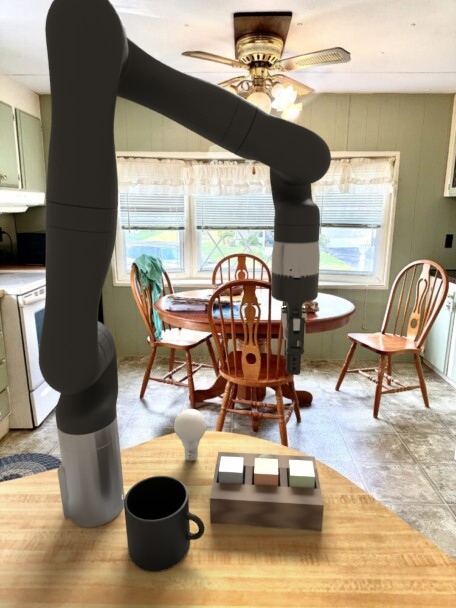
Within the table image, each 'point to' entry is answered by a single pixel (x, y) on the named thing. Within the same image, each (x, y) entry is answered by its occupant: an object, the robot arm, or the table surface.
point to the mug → (159, 523)
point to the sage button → (301, 474)
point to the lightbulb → (190, 431)
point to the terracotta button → (266, 472)
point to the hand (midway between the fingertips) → (291, 364)
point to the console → (266, 498)
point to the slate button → (231, 470)
